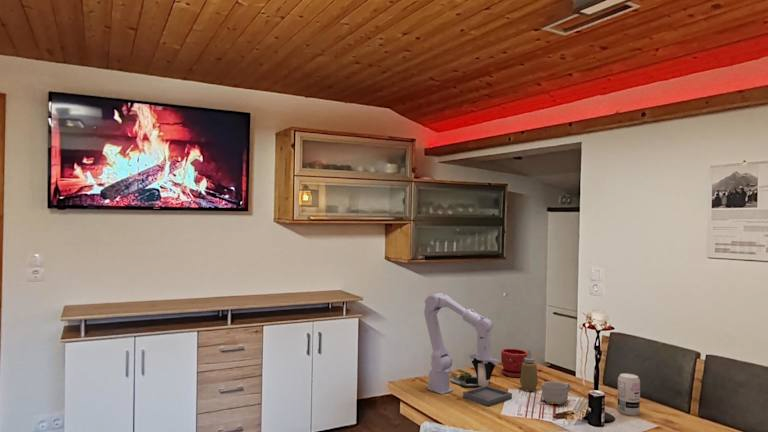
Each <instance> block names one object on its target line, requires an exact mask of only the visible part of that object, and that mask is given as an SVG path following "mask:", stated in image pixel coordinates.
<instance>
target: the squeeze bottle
mask: <svg viewBox="0 0 768 432" xmlns="http://www.w3.org/2000/svg"><path fill="white" fill-rule="evenodd" d="M538 379H539V377H538V368H537V364H536V363H535V358H534V357H533V356H532V351H531V350H530V349H529V350H527V357H525V358H524V362H523V363H522V368H521V377H520V380H519V382H520V383H519V384H520V385H521V388H522V390H523V391H526V392H535V391H536V390H537V387H538V384H539V381H538Z"/></svg>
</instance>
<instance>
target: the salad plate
mask: <svg viewBox="0 0 768 432" xmlns="http://www.w3.org/2000/svg"><path fill="white" fill-rule="evenodd" d="M450 377H451V378H450V381H451V382H452V383H453V384H456V385H458V386H461V387H464V388H470V389H472V388H473V389H476V388H479V387H483V386H479V385H478V377H477V375H476V374H472V373H470V372H469V373H468V372H466V371H465V372H462V373H461V372H458V375H455V374H454V373H451V374H450ZM490 382H491V379H490V380H489V384H491V383H490Z"/></svg>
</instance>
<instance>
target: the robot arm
mask: <svg viewBox="0 0 768 432" xmlns="http://www.w3.org/2000/svg"><path fill="white" fill-rule="evenodd" d="M424 303H425V304H424V305H425V306H424V312H423V313H424V317H425V318H424V319H425V323H426V326H427V330H428V335H429V339H430V344H431V348H432V352H431V355H430V357H431V361H430V363H431V364H430V366H431V370H429V373H428V387H427V388H426V389H427V390H429V391H432V392H435V393H438V394H441V395H443V394H446V393H451V392H454V389H453V388H451V387H450V381H451V378H450V377H451V374H450V372H451V371H450V369H451V367H452V366H453V359H452V357H451V355H450V354H449V350H447V349H446V347H445V345H444V341H443V335H442V332H441V328H440V323H439V319H438V313H439V311H440V310H441V309H443V308H448V309H450V310H451V311H453V312H455V313H457V314H458V315H460V316H461V318H462V320H463V321H464V322H466V323H467V324H469V325H470V326H472V327H474V328H475V331H476V333H477V336H476V338H477V341H476V342H477V343H476V344H477V345H476V346H477V347H476V351H477V352H476V353H469V357H468V358H469V359H470V360H471V359H473V360H471V364H472V365H473V368H474V370H475V373H476V374H475V375H477V377H478V363H479V362H486V364H484V366H485V370H486V380H490V381H491V377H492V374H493V372H494V369H495V368H496V366H498V365H499V364H500V360H499V359H498V358H497V359H496V358H494V357H492V356H491V354H492V353H491V348H492V345H491V344H492V342H491V341H492V340H491V338H492V333H491V332H492V331H491V330H493V328H494V324H493V321H492V319H490V318H489V317H484V316H483V315H481V314H480V313H477V312H476V311H475V309H473V308H472V309H471V308H467V309H466V308H464V306H462V305H460V303H458V302H457V301H455V300H453V298H451V296H450V295H448V294H446V293H444V292H438V293H434V294H429V295H428V296H427V297H426V298H425V300H424Z"/></svg>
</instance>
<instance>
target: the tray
mask: <svg viewBox="0 0 768 432" xmlns="http://www.w3.org/2000/svg"><path fill="white" fill-rule="evenodd" d="M462 394H463V395H462V399H465V400H468V401H471V402H473V403H477V404H480V405H482V406H486V407H492V406H496V405H497V404H501V403H503V402H504V403H505V402H507V401H509V400H513V393H512V392H509V391H506V390H503V389H499V388H496V387H493V386H490V385H488V386H482V387H478V388H473V389H469V390H466V391H463V393H462Z"/></svg>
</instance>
